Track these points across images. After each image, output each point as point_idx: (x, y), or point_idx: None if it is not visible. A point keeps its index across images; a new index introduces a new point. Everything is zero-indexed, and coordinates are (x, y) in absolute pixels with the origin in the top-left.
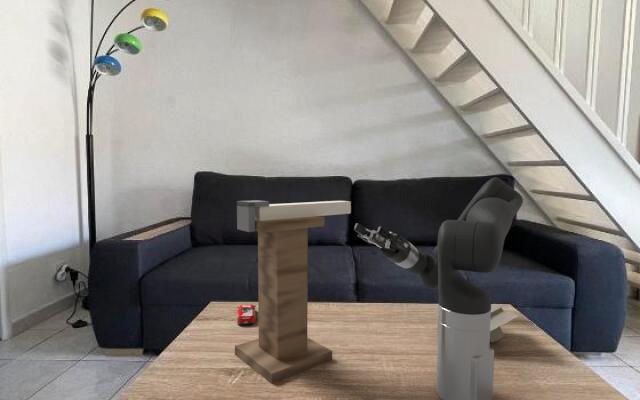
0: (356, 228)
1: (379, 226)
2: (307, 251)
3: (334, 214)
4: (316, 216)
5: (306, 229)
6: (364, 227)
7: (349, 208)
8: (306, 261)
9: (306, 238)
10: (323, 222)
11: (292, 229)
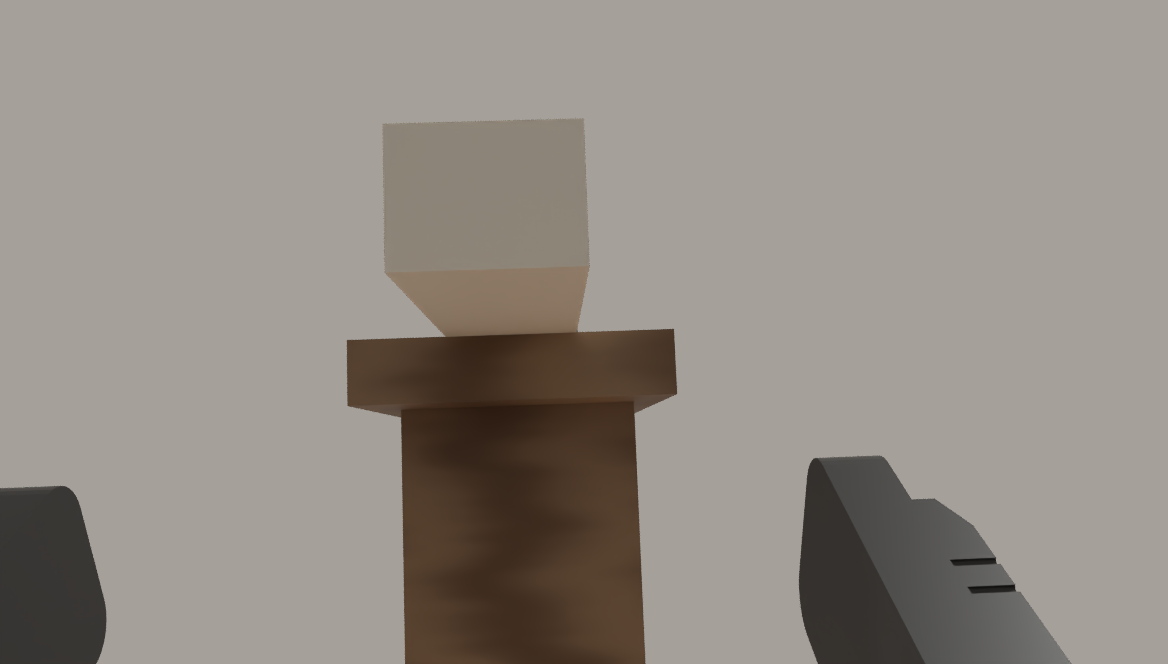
0: (804, 580)
1: (58, 486)
2: (404, 572)
3: (420, 308)
4: (435, 337)
5: (403, 424)
6: (907, 630)
7: (388, 213)
8: (407, 639)
9: (403, 483)
10: (349, 377)
11: (395, 415)
